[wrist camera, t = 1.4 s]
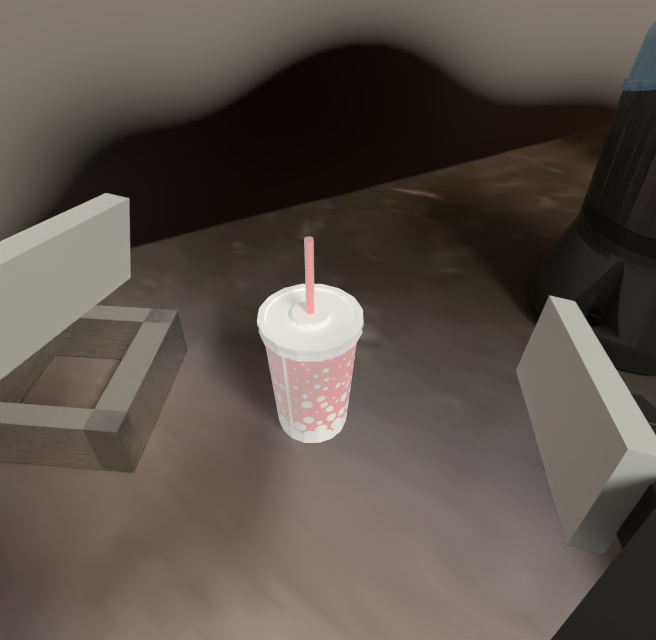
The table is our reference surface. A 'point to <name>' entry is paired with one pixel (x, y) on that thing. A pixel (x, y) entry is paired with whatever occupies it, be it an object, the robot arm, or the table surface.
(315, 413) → the beverage cup
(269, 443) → the table surface
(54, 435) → the grey hollow block
